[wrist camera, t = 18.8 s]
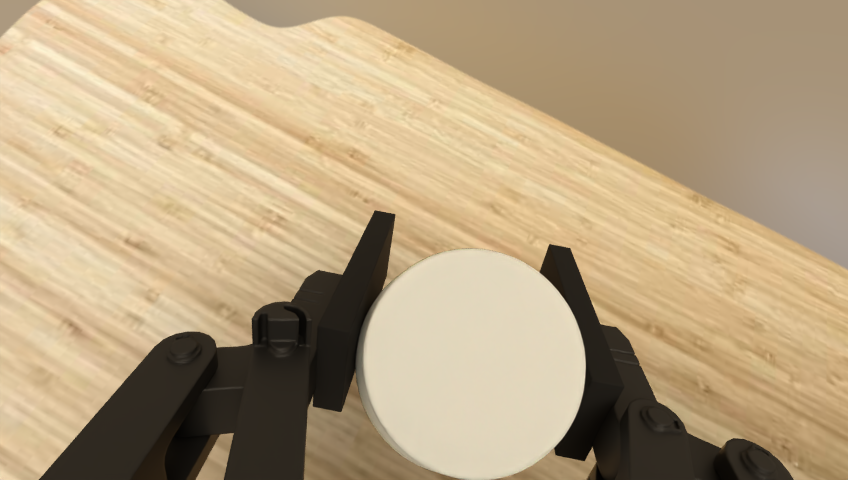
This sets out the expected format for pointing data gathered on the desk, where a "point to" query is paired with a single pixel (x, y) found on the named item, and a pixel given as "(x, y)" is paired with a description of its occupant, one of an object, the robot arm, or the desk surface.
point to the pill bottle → (471, 364)
